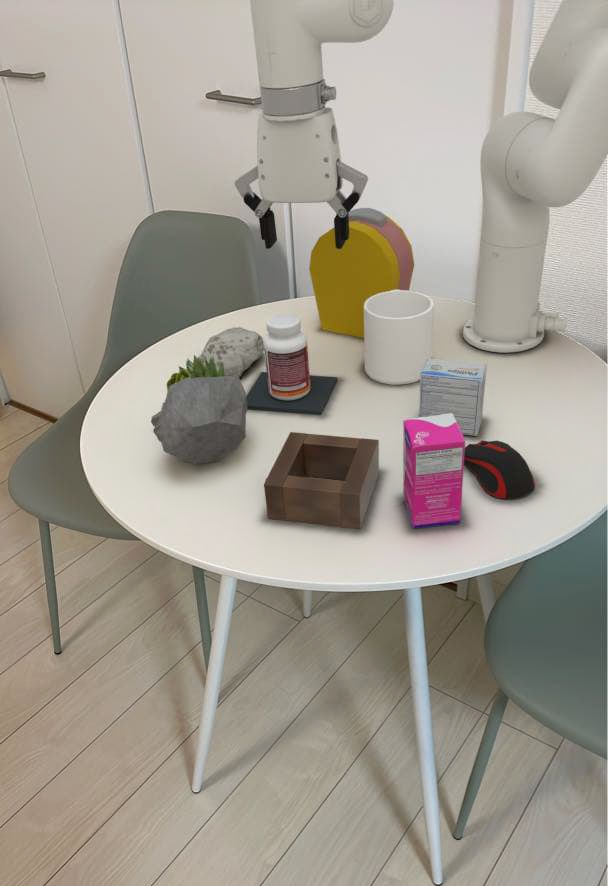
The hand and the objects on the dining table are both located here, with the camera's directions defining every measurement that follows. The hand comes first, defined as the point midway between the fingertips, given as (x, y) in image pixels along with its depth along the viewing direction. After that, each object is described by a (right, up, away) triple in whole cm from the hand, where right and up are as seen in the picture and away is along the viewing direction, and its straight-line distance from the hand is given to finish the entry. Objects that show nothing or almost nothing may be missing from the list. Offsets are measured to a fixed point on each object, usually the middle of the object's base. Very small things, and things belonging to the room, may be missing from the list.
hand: (305, 245), depth 100 cm
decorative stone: (-12, -12, +19) cm, 25 cm away
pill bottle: (-2, -18, +10) cm, 21 cm away
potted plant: (-14, -27, +2) cm, 30 cm away
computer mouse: (+24, -31, -8) cm, 40 cm away
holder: (+2, -34, -9) cm, 35 cm away
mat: (-2, -18, +11) cm, 21 cm away
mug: (+14, -13, +15) cm, 24 cm away
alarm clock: (+10, -3, +27) cm, 29 cm away
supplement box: (+15, -36, -12) cm, 41 cm away
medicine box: (+20, -24, +1) cm, 31 cm away
